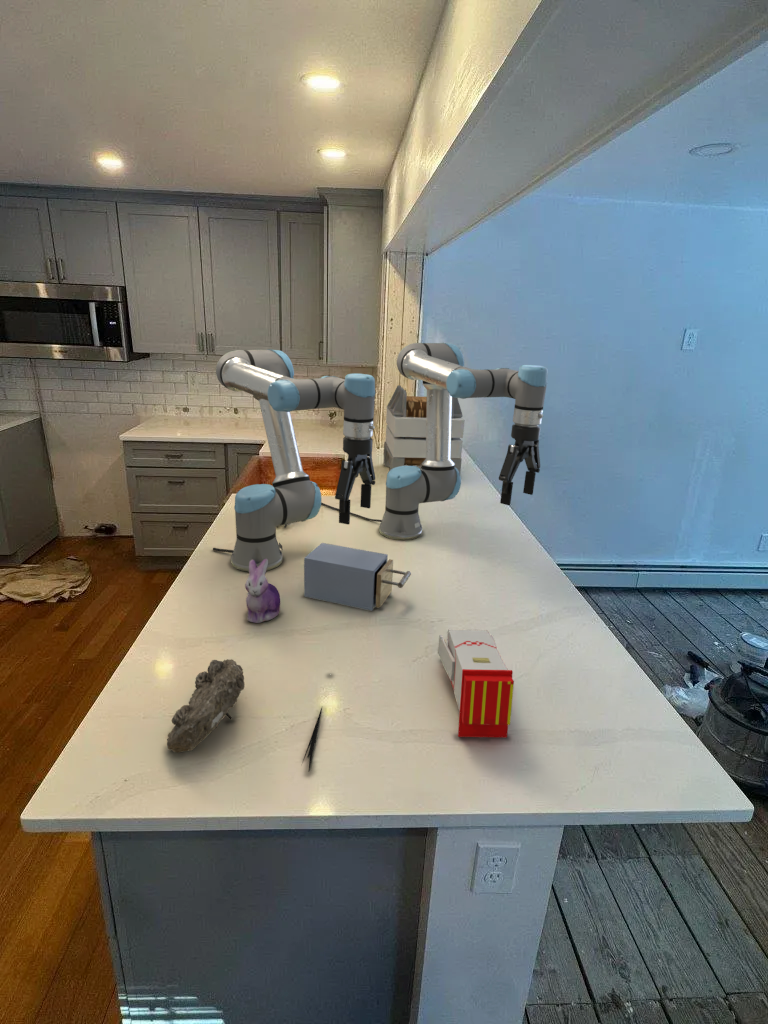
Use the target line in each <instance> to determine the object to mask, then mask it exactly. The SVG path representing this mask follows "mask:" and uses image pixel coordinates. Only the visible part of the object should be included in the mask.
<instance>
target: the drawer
mask: <svg viewBox="0 0 768 1024" xmlns="http://www.w3.org/2000/svg"><path fill="white" fill-rule="evenodd" d="M382 566H383V564H382V565H381V566H380V567H379V569H378V570H377V571H376V572H375V580H374V598H375V597H376V606H375V608H381V607H382V606H383V605H384V603H385V602H386V600H387V599H388V597H389V596H390V594H391V593H392V591H393V586H397V587H398V588H399V589H403V587H404V586H405V584H406V583H407V581H408V580H409V578H410V577H411V576H412V572H411V571H410V570H407V571H401V570H397V569H394V559H391V558H389V559H387V563H386V564H385V565H384V566H383V568H382ZM394 574H398V575H403V576H402V577H401V579H400V580H399V581H398V582H396V581H393V577H394Z"/></svg>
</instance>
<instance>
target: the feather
mask: <svg viewBox="0 0 768 1024" xmlns="http://www.w3.org/2000/svg"><path fill="white" fill-rule="evenodd" d="M329 675H330V676H331V675H332V674H331V673H330V674H329ZM322 710H323V707H321V708H320V710H319V713H318V716H317V719H316V723H315V725H314V728H313V731H312V733H311V737H310V739H309V742H308V745H307V748H306V751H305V754H304V757H303V760H302V763H301V767H302V765H303V763H304V761H305V758H308V759H309V760H308V762H307V763H308V764H307V766H308V771H310V770H311V766H312V765H311V764H312V760H313V757H315V756H314V755H315V751H316V749H315V746H317V739H318V733H319V729H320V722H321V717H322V712H323V711H322ZM313 754H314V755H313ZM306 755H307V757H306Z"/></svg>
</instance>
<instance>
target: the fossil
mask: <svg viewBox="0 0 768 1024" xmlns="http://www.w3.org/2000/svg"><path fill="white" fill-rule="evenodd" d="M243 670H244V669H243V667H242V665H240V664H237V662H236V661H235V660H234V659H232V658H231V659H227V658H226V659H224V660H223V661H222V660H217V659H212V660H211V661H210V663H209V665H208V666H207V671H201V672H199V673H198V674H197V675H196V676H195V680H194V684H195V685H194V687H195V689H194V690H193V693H192V694H191V697H190V698H189V700H188V704H184V705H182V706H181V707H180V709H177V710H176V711H175V713H174V715H173V716H172V718H171V723H172V724H173V727H172V730H171V731H170V732H168V734H167V738H166V741H167V742H166V745H167V749H168V750H169V751H173V752H174V753H176V754H178V753H182V752H188V751H189V752H192V751H193V750H195V748H196V747H197V746H199V744H200V743H201V742H203V741H204V740H205V739H206V738H207V737H208V736H209V735H210V734H211V733H212V732H214V730H215V729H217V727H218V726H219V724H220V722H221V721H222V720H223V719H224V718H225V716H226V717H227V719H229V720H233V717H232V715H230V714H229V710H230V709H231V708H234V706H235V704H236V703H237V702H238V699H239V697H240V695H241V693H242V691H243V690H245V689H244V688H245V675H244V671H243Z"/></svg>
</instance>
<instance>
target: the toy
mask: <svg viewBox="0 0 768 1024" xmlns="http://www.w3.org/2000/svg"><path fill="white" fill-rule="evenodd" d="M446 640H447V643H446V641H445V639H444V636H443V635H442V634H439V637H438V646H437V656H438V657H439V659H440V661H441V663H442V666H443V668H444V670H445V672H446V674H447V677H448V679H449V681H450V684H451V687H452V690H453V693H454V697H455V701H456V705H457V708H458V711H459V714H458V715H459V716H458V730H457V731H458V732H457V737H458V738H508V731H509V726H510V725H511V717H512V707H513V697H514V696H513V695H514V684H515V680H514V679H513V673H514V671H513V670H512V669H508V667H507V665H506V662H505V661H504V659H503V658H502V655H501V653H500V651H499V649H498V647H497V643H496V639H495V637H494V635H493V634H491V632H490V631H489V629H467V628H466V629H465V628H463V629H461V628H460V629H459V628H448V630H447V639H446Z"/></svg>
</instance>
